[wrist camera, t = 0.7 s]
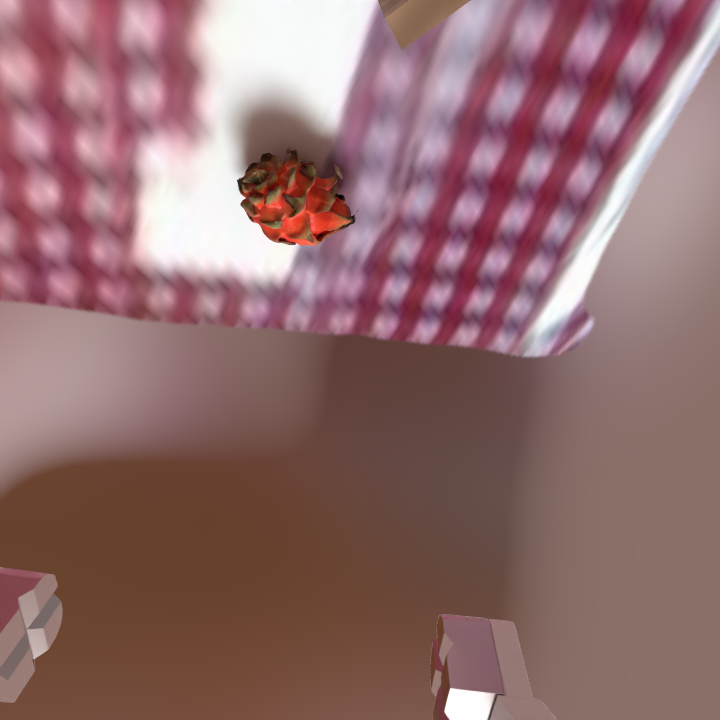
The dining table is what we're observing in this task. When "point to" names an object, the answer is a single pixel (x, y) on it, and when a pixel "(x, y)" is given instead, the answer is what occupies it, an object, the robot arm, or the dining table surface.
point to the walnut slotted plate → (416, 16)
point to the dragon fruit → (293, 200)
